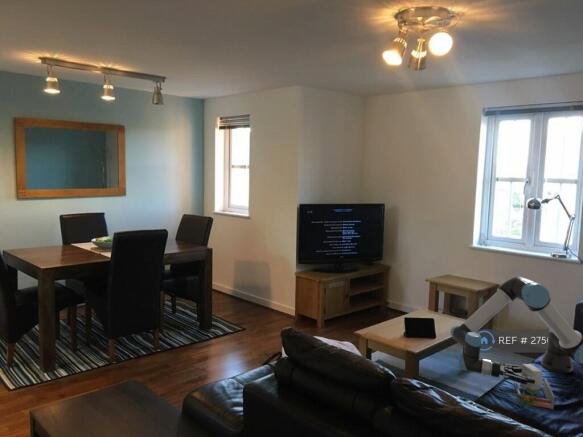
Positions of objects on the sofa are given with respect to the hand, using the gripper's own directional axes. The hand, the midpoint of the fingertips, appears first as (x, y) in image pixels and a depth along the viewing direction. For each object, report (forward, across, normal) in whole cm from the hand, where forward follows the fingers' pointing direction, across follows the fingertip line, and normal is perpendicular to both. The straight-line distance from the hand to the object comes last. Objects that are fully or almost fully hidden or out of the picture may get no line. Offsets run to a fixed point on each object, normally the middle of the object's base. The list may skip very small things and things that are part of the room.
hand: (541, 378), depth 229 cm
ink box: (-4, 0, -7) cm, 9 cm away
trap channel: (-3, +4, -8) cm, 10 cm away
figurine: (-8, +18, -8) cm, 22 cm away
